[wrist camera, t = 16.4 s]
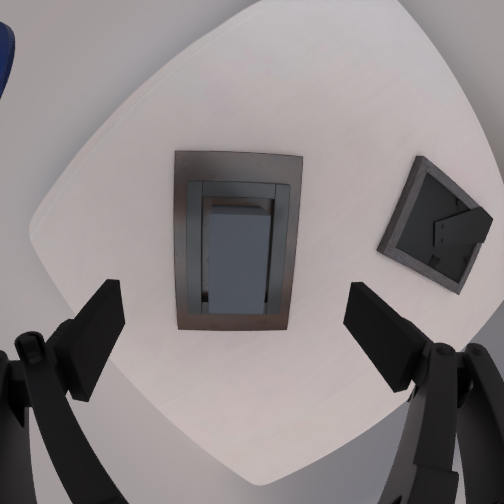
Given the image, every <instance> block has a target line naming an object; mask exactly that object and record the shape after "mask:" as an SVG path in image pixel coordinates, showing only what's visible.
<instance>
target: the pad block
mask: <svg viewBox="0 0 504 504" xmlns="http://www.w3.org/2000/svg"><path fill="white" fill-rule="evenodd" d="M270 221H271V216H270V215H269V214H268V213H267V212H266V211H265V210H264V209H263V208H262V207H261V206H240V205H212V206H211V210H210V217H209V276H208V306H209V313H215V314H263V312H264V300H265V288H266V275H267V262H268V249H269V235H270Z"/></svg>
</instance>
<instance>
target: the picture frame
mask: <svg viewBox="0 0 504 504" xmlns="http://www.w3.org/2000/svg"><path fill="white" fill-rule="evenodd" d="M492 221H493V218H492V217H491V216H490V215H489V214H488V213H487V212H486V211H485V210H484V209H483V208H482V207H480V206H479V205H478V204H477V203H476V202H475V201H474V200H473V199H472V198H471V197H470V196H469V195H468V194H467V193H466V192H465V191H464V190H462V189H461V188H460V187H459V186H458V185H457V184H456V183H455V182H454V181H453V180H451V179H450V178H449V177H448V176H447V175H446V174H445V173H443V172H442V171H441V170H440V169H439V168H438V167H436V166H435V165H434V164H433V163H432V162H430V161H429V160H428V159H427V158H425V157H424V156H416V158H415V161H414V164H413V166H412V169H411V172H410V174H409V177H408V179H407V182H406V184H405V187H404V189H403V192H402V194H401V197H400V199H399V202H398V204H397V206H396V209H395V211H394V213H393V216H392V218H391V220H390V222H389V225H388V227H387V229H386V231H385V233H384V236H383V238H382V240H381V242H380V244H379V246H378V248H377V251H378V252H380V253H382V254H384V255H385V256H387V257H389V258H391V259H393V260H395V261H397V262H399V263H401V264H403V265H405V266H407V267H409V268H410V269H412V270H414V271H416V272H418V273H420V274H422V275H424V276H425V277H427V278H429V279H431V280H433V281H435V282H436V283H438V284H440V285H442V286H444V287H445V288H447V289H449V290H451V291H452V292H454V293H456V294H458V295H459V294H460V292H461V290H462V288H463V286H464V284H465V282H466V280H467V278H468V275H469V273H470V271H471V269H472V267H473V264H474V262H475V260H476V258H477V255H478V253H479V250H480V248H481V245H482V243H484V241H485V239H486V236H487V234H488V231H489V229H490V226H491V224H492Z"/></svg>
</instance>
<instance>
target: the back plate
mask: <svg viewBox="0 0 504 504" xmlns="http://www.w3.org/2000/svg"><path fill="white" fill-rule="evenodd" d="M302 167H303V157H302V156H291V155H279V154H266V153H250V152H228V151H175V168H174V266H175V290H176V308H177V323H178V330H210V331H262V330H287V326H288V318H289V310H290V301H291V292H292V283H293V274H294V264H295V254H296V244H297V233H298V221H299V209H300V196H301V182H302ZM212 205H240V206H261V207H262V208H263V209H264V210H265V211H266V212H267V213H268V214H269V215H270V216H271V221H270V235H269V249H268V262H267V275H266V288H265V300H264V312H263V314H215V313H209V306H208V276H209V217H210V210H211V206H212Z"/></svg>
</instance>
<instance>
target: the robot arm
mask: <svg viewBox="0 0 504 504" xmlns="http://www.w3.org/2000/svg"><path fill="white" fill-rule="evenodd" d="M343 324H344V325H345V326H346V328H347V329H348V330H349V332H350V333H351V334H352V336H353V337H354V338H355V340H356V341H357V342H358V344H359V345H360V346H361V348H362V349H363V350H364V352H365V353H366V354H367V356H368V357H369V359H370V360H371V361H372V363H373V364H374V365H375V367H376V368H377V370H378V371H379V372H380V374H381V375H382V376H383V378H384V379H385V381H386V382H387V383H388V385H389V386H390V388H391V389H392V390H393V392H394V393H396V392H399V391H403V390H407V388H408V386H409V384H410V382H411V380H413V381H414V383H415V384H416V385H415V387H414V389H413V391H412V393H411V395H410V397H409V399H408V401H407V402H410V405H409V410H408V414H407V418H406V422H405V426H404V430H403V433H402V437H401V440H400V444H399V447H398V451H397V454H396V457H395V460H394V463H393V465H392V468H391V471H390V474H389V477H388V479H387V482H386V485H385V487H384V490H383V492H382V495H381V497H380V500H379V502H378V504H455V499H456V493H457V488H458V481H459V474H458V472H454V471H452V464H453V455H454V447H455V437H456V433H457V438H458V443H459V449H460V454H461V461H462V468H463V476H464V485H465V496H466V504H504V382H503V379H502V378H501V375H500V373H499V371H498V369H497V367H496V366H495V364H494V362H493V360H492V358H491V357H490V354H489V353H488V351H487V350H486V348H484V347H483V346H482V345H479V344H476V343H470V344H468V345H467V347H466V349H465V352H455V350H454V349H453V347H451V346H450V345H448V344H445V343H434V342H433V341H431V340H430V339H429V338H428V337H427V336H426V335H425V334H424V333H423V332H421V330H420V329H418V328H417V327H416V326H415V325H414V324H413V323H412V322H411V321H409V320H407V319H405V318H402V317H401V316H400V315H399V314H398V313H397V312H396V311H394V310H393V309H392V308H391V307H390V306H389V305H388V304H387V303H386V302H385V301H383V300H382V299H381V298H380V297H379V296H378V295H377V294H376V293H374V292H373V291H372V290H371V289H370V288H369V287H368V286H366V285H365V284H364V283H363V282H351V287H350V292H349V298H348V303H347V307H346V312H345V317H344V322H343ZM124 325H125V318H124V311H123V304H122V297H121V289H120V281H119V280H114V279H107V280H106V281H105V282H104V283H103V284H102V286H101V287H100V288H99V289H98V290H97V291H96V293H95V294H94V295H93V296H92V297H91V299H90V300H89V301H88V302H87V303H86V305H85V306H84V307H83V308H82V309H81V311H80V312H79V313H78V314H77V316H76V317H75V318H74V319H68V320H66V321H64V322H63V323H61V324H60V325H59V327H58V328H57V329H56V331H54V333H53V334H52V336H51V337H50V338H49V339H48V340H47V342H46V343H45V342H44V339H43V336H42V335H41V333H39V332H35V331H30V332H26V333H23V334H21V335H20V336H18V337H17V338H16V340H15V343H14V344H15V347H16V350H17V353H18V355H19V358H20V360H17V361H16V360H15V361H14V360H13V361H9V359H8V357H7V354H6V353H5V352H4V351H2V350H0V504H37V501H36V495H35V489H34V482H33V474H32V466H31V455H30V439H29V407H32V408H33V411H34V415H35V418H36V420H37V424H38V427H39V430H40V433H41V435H42V438H43V441H44V443H45V446H46V449H47V451H48V453H49V456H50V458H51V461H52V463H53V465H54V467H55V470H56V472H57V474H58V476H59V478H60V480H61V482H62V484H63V486H64V488H65V490H66V492H67V494H68V496H69V498H70V500H71V501H72V503H73V504H129V503H128V502H127V500H126V499H125V498H124V496H123V495H122V494H121V492H120V491H119V489H118V488H117V487H116V485H115V484H114V482H113V481H112V479H111V478H110V477H109V475H108V474H107V472H106V471H105V469H104V467H103V466H102V465H101V463H100V461H99V459H98V458H97V456H96V454H95V453H94V451H93V449H92V448H91V446H90V444H89V442H88V441H87V439H86V437H85V435H84V433H83V431H82V430H81V428H80V426H79V424H78V422H77V420H76V418H75V416H74V414H73V412H72V410H71V407H70V405H69V403H68V401H67V399H66V397H65V395H66V393H67V391H68V390H69V392H70V393H71V396H72V398H73V399H74V400H79V401H84V402H89V399H90V397H91V395H92V392H93V390H94V388H95V386H96V383H97V381H98V379H99V377H100V375H101V372H102V370H103V368H104V366H105V364H106V362H107V359H108V357H109V355H110V353H111V351H112V349H113V347H114V345H115V343H116V341H117V339H118V337H119V335H120V333H121V331H122V329H123V327H124ZM410 400H411V401H410Z"/></svg>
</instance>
